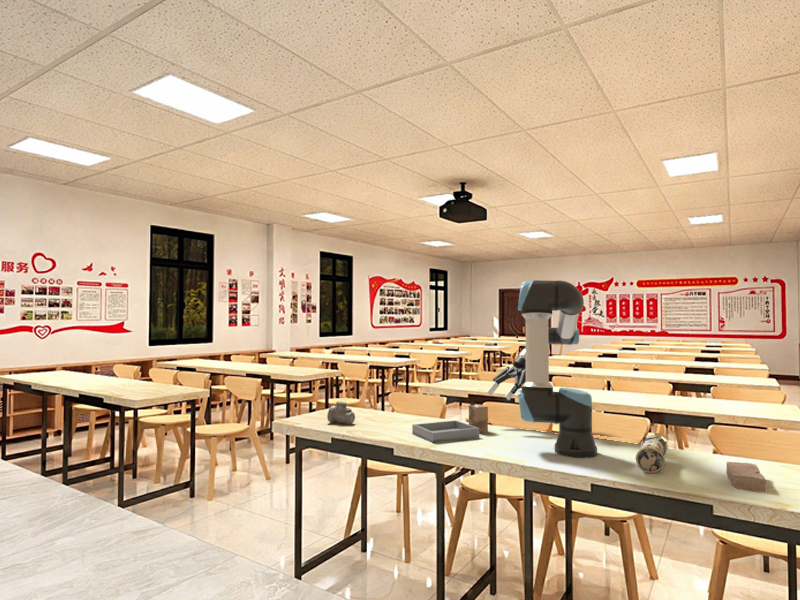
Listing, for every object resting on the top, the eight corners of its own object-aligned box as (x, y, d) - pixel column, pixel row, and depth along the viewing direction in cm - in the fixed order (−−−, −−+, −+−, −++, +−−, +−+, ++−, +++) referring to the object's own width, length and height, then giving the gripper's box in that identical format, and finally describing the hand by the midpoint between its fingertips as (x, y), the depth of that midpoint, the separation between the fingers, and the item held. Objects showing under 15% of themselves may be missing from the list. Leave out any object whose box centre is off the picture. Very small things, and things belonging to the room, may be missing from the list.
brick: (766, 493, 153) (766, 477, 154) (733, 489, 157) (733, 473, 157) (756, 478, 168) (756, 463, 168) (725, 474, 172) (725, 460, 172)
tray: (479, 437, 220) (479, 428, 220) (433, 443, 211) (433, 432, 211) (456, 429, 237) (456, 420, 237) (412, 433, 227) (412, 424, 227)
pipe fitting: (325, 422, 247) (328, 400, 248) (334, 421, 254) (338, 399, 255) (346, 428, 241) (349, 405, 242) (355, 426, 248) (359, 404, 249)
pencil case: (640, 458, 191) (640, 430, 191) (667, 461, 187) (667, 433, 187) (635, 473, 172) (635, 443, 172) (664, 477, 168) (664, 446, 168)
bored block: (487, 431, 232) (487, 406, 232) (476, 433, 229) (476, 407, 230) (479, 429, 237) (479, 404, 238) (468, 430, 235) (468, 405, 235)
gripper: (547, 369, 235) (520, 405, 228) (511, 364, 258) (486, 397, 251) (537, 357, 233) (510, 394, 226) (503, 354, 256) (476, 387, 249)
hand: (497, 396), depth 238 cm, fingers open, 13 cm apart
